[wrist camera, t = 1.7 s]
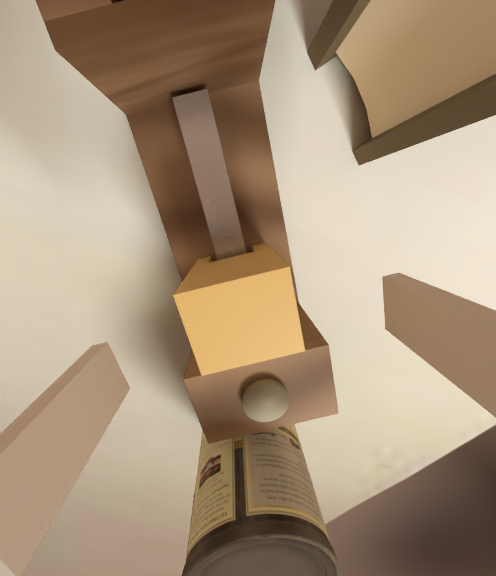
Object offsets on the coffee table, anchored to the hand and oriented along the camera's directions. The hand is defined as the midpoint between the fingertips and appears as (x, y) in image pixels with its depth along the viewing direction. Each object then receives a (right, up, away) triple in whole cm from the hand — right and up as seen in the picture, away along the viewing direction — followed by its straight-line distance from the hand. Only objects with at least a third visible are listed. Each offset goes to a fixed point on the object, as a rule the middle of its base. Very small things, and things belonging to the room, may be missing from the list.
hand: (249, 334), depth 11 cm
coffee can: (0, -13, +18) cm, 22 cm away
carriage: (-1, +3, +10) cm, 11 cm away
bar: (-2, +8, +9) cm, 12 cm away
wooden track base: (-2, +8, +10) cm, 13 cm away
